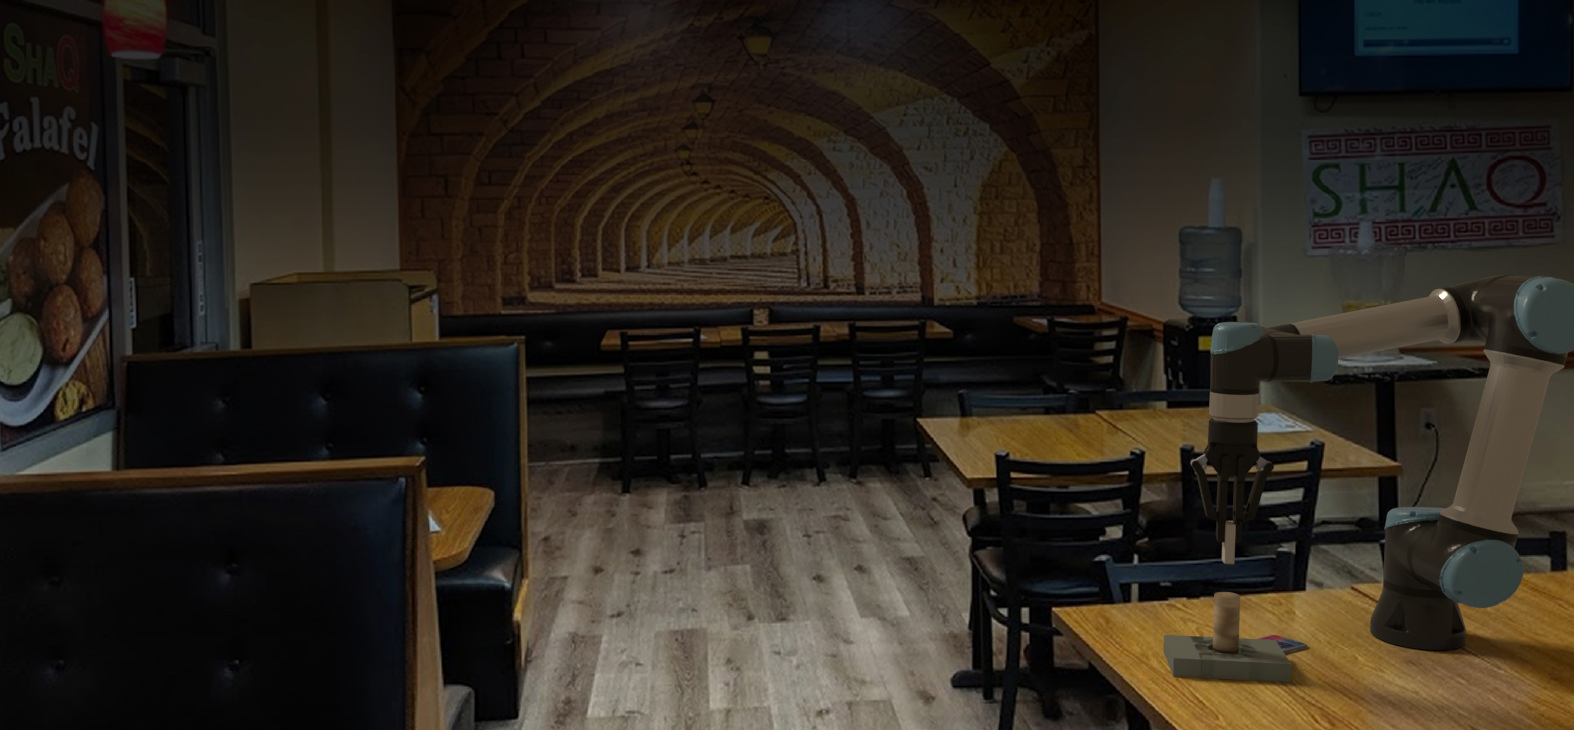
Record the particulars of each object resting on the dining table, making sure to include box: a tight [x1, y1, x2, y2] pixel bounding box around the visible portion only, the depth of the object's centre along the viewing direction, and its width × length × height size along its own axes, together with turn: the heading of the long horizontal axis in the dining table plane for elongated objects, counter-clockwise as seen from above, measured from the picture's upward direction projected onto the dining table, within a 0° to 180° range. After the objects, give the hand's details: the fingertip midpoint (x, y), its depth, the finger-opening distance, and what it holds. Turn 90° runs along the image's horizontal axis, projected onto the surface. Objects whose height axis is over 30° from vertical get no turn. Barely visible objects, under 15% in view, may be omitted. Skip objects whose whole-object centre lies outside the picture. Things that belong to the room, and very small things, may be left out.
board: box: [1163, 634, 1292, 683], centre depth 209 cm, size 18×12×3 cm, turn 81°
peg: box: [1212, 591, 1241, 655], centre depth 208 cm, size 4×4×12 cm
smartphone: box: [1257, 634, 1308, 655], centre depth 217 cm, size 7×1×15 cm
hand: (1227, 561), depth 207 cm, fingers closed
